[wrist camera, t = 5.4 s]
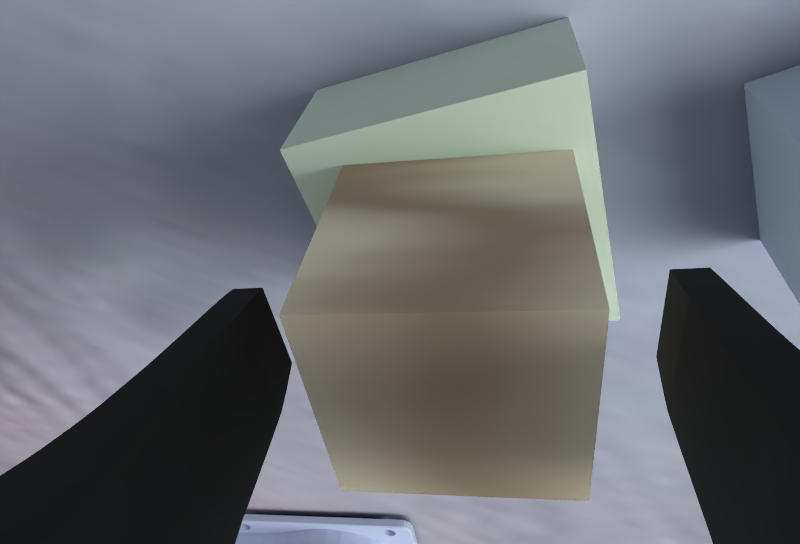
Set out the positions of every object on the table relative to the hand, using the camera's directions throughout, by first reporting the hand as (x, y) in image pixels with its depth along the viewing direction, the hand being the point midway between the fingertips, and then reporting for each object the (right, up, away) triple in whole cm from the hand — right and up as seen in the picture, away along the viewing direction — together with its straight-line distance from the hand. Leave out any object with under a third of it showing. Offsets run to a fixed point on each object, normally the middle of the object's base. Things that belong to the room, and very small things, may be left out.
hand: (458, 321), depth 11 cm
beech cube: (0, +1, +2) cm, 3 cm away
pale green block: (+1, +4, +5) cm, 6 cm away
